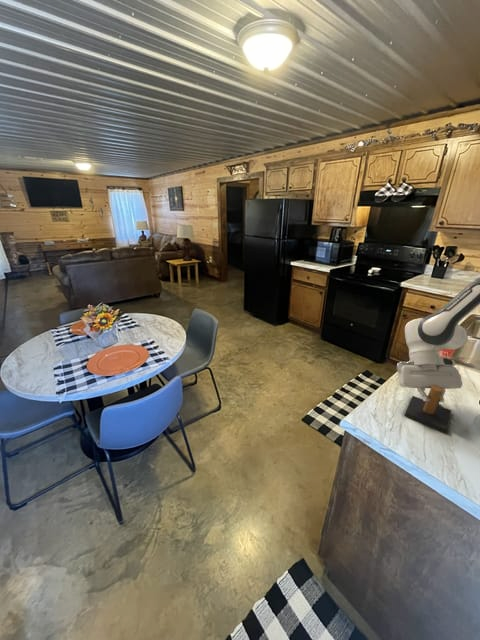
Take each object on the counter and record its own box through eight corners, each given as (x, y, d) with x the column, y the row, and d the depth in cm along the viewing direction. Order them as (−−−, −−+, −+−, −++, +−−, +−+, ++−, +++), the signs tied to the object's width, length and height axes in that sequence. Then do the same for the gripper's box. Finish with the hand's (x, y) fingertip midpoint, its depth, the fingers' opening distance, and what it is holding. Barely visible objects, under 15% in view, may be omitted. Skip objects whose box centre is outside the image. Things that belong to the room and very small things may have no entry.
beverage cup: (455, 361, 127) (465, 335, 121) (443, 362, 126) (453, 336, 120) (445, 354, 132) (454, 329, 127) (433, 355, 132) (442, 330, 126)
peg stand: (413, 394, 104) (421, 369, 99) (451, 408, 96) (461, 382, 92) (404, 415, 93) (413, 389, 88) (446, 433, 86) (457, 405, 81)
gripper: (400, 359, 93) (408, 399, 88) (459, 360, 92) (471, 401, 87) (391, 363, 99) (398, 401, 94) (446, 364, 98) (457, 403, 93)
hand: (433, 401), depth 90 cm, fingers closed on peg stand, 3 cm apart
